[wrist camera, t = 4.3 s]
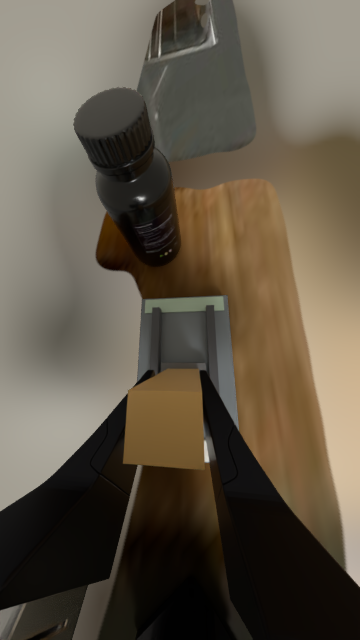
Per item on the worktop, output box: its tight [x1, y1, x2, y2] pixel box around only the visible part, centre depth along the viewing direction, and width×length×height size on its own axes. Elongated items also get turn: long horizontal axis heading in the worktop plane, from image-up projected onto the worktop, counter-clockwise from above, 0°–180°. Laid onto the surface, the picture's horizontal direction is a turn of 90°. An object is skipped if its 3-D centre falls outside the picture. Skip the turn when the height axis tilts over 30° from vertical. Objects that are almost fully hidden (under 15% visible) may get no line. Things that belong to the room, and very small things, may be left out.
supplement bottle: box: [74, 87, 181, 266], centre depth 15 cm, size 7×7×12 cm
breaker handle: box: [123, 362, 206, 470], centre depth 10 cm, size 4×4×9 cm
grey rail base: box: [137, 295, 239, 463], centre depth 15 cm, size 16×10×3 cm, turn 0°
